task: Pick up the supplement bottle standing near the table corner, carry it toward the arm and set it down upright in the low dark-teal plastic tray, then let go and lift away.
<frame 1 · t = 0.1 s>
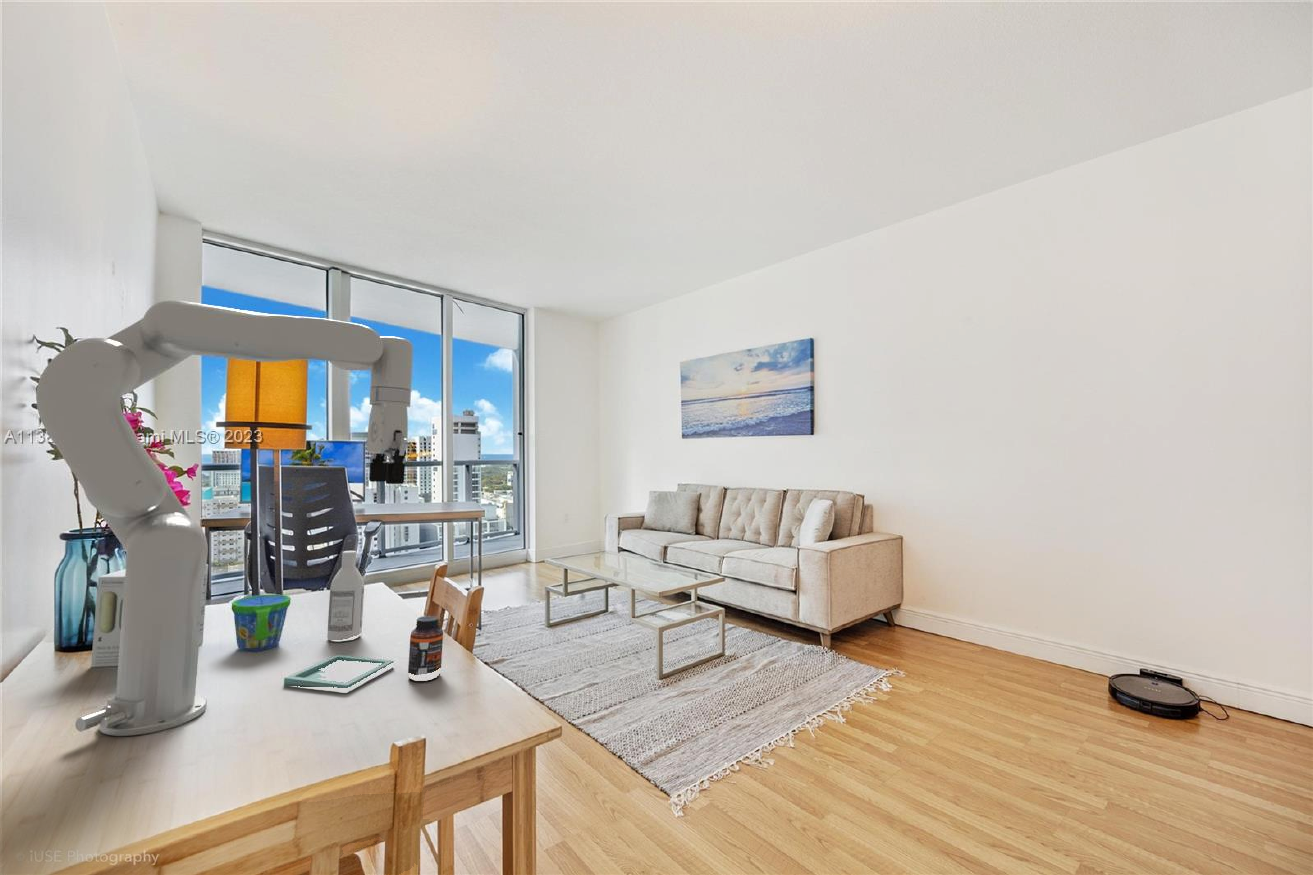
hand: (386, 482, 113), 37 cm above the table, tool pointing down, fingers open, 9 cm apart
bath foam: (344, 639, 130), on the table
supplement box: (150, 656, 115), on the table
tray: (341, 676, 107), on the table
snack cup: (258, 647, 122), on the table
supplement bottle: (424, 678, 108), on the table
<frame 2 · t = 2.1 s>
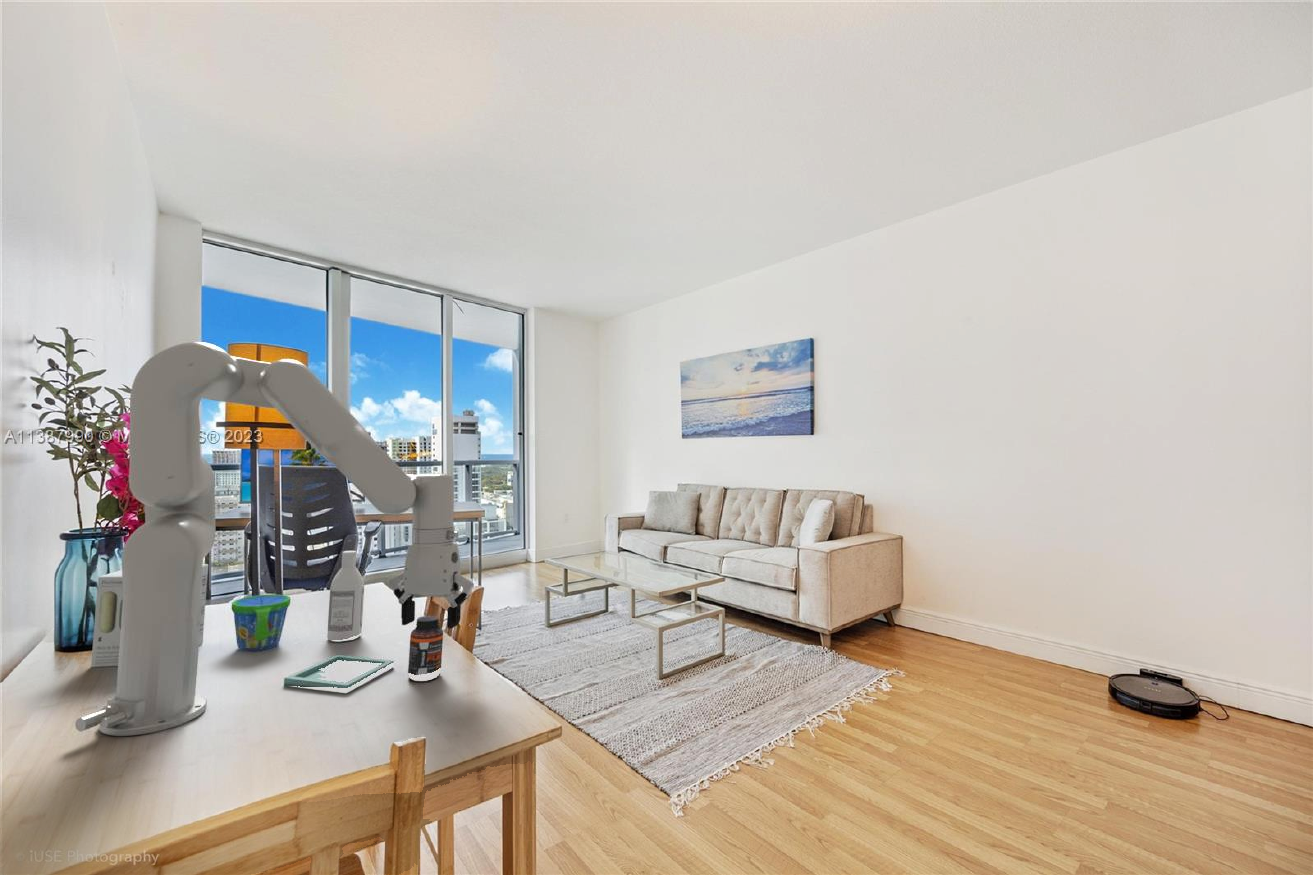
hand: (430, 624, 109), 10 cm above the table, tool pointing down, fingers open, 9 cm apart
nothing on the table moved.
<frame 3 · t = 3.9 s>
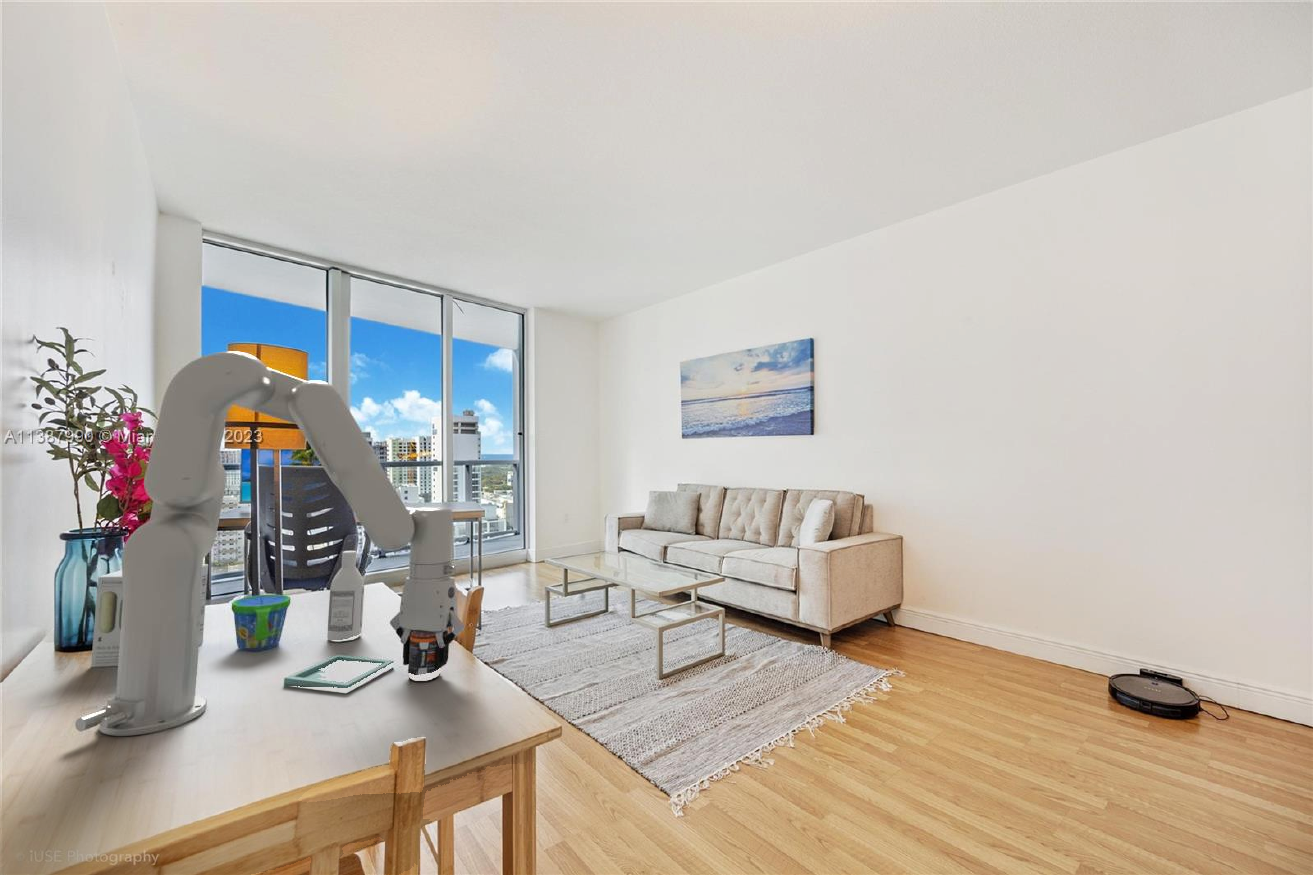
hand: (425, 663, 108), 3 cm above the table, tool pointing down, fingers closed on supplement bottle, 6 cm apart
supplement bottle: (424, 678, 108), on the table, touching gripper
everything else where it was.
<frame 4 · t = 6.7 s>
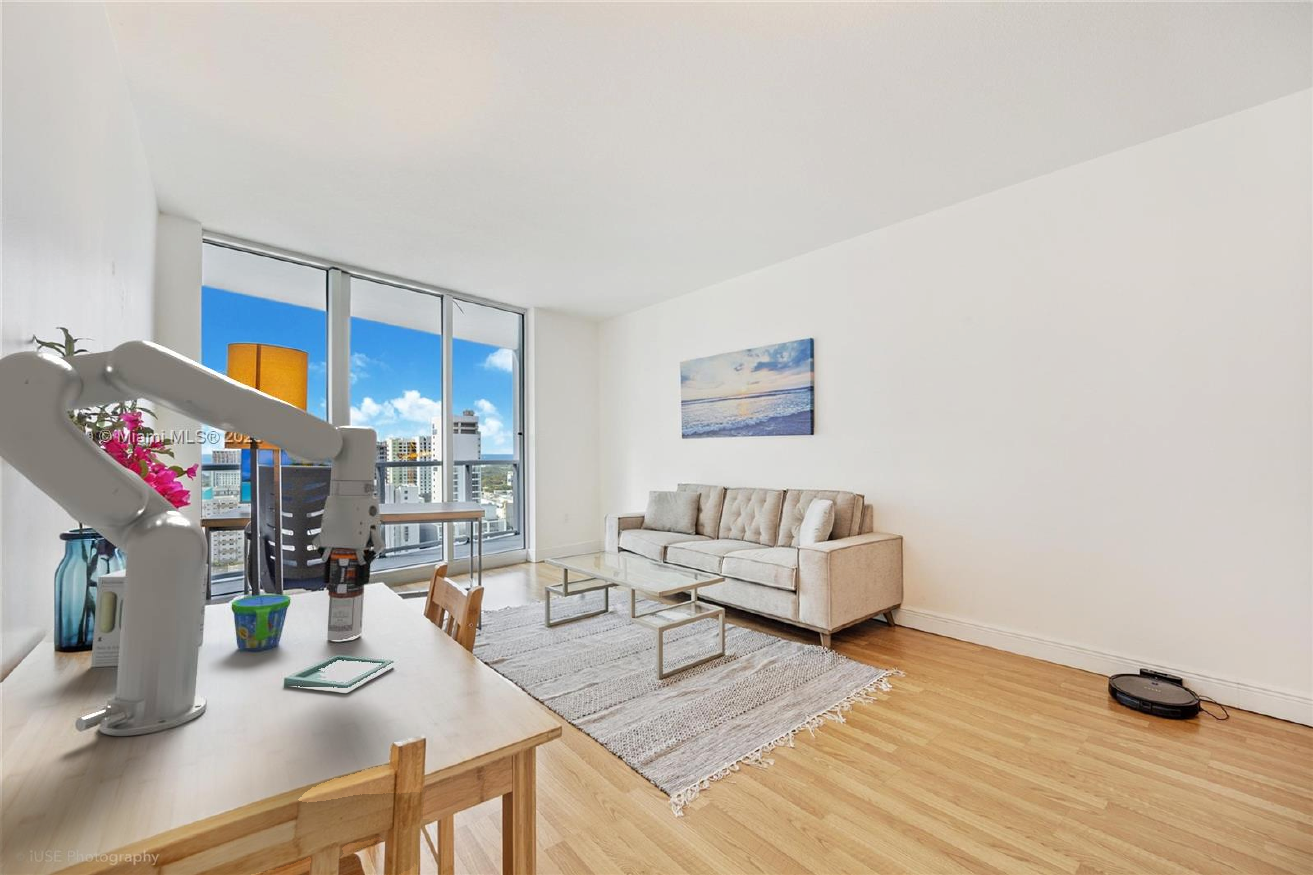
hand: (346, 582, 108), 18 cm above the table, tool pointing down, fingers closed on supplement bottle, 6 cm apart
supplement bottle: (345, 596, 108), point 15 cm above the table, touching gripper
everything else where it was.
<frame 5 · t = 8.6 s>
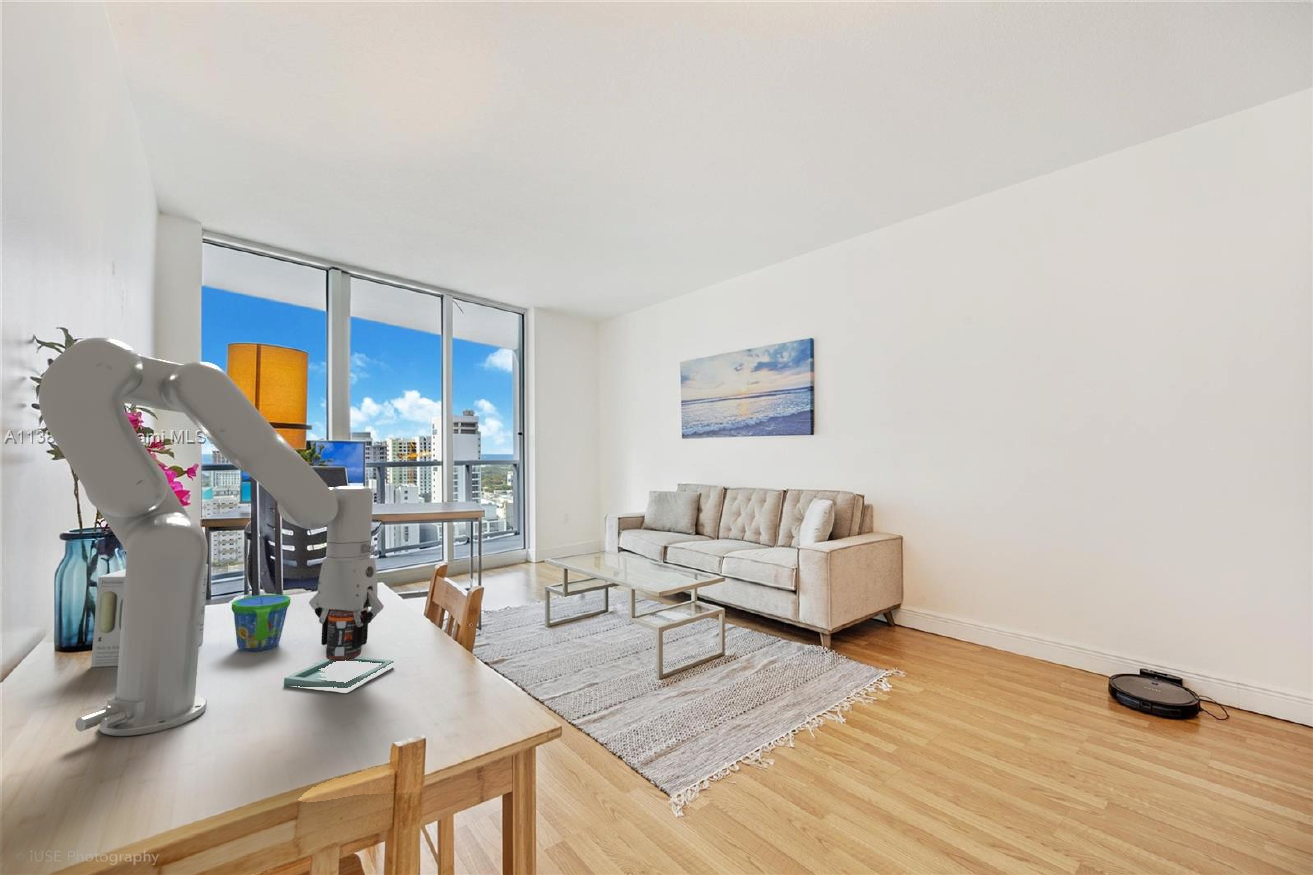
hand: (344, 643, 107), 6 cm above the table, tool pointing down, fingers closed on supplement bottle, 6 cm apart
supplement bottle: (343, 658, 107), point 4 cm above the table, touching gripper
everything else where it was.
when the fingers open (4 cm above the table, at t = 9.9 s): supplement bottle drops 1 cm, resting on tray.
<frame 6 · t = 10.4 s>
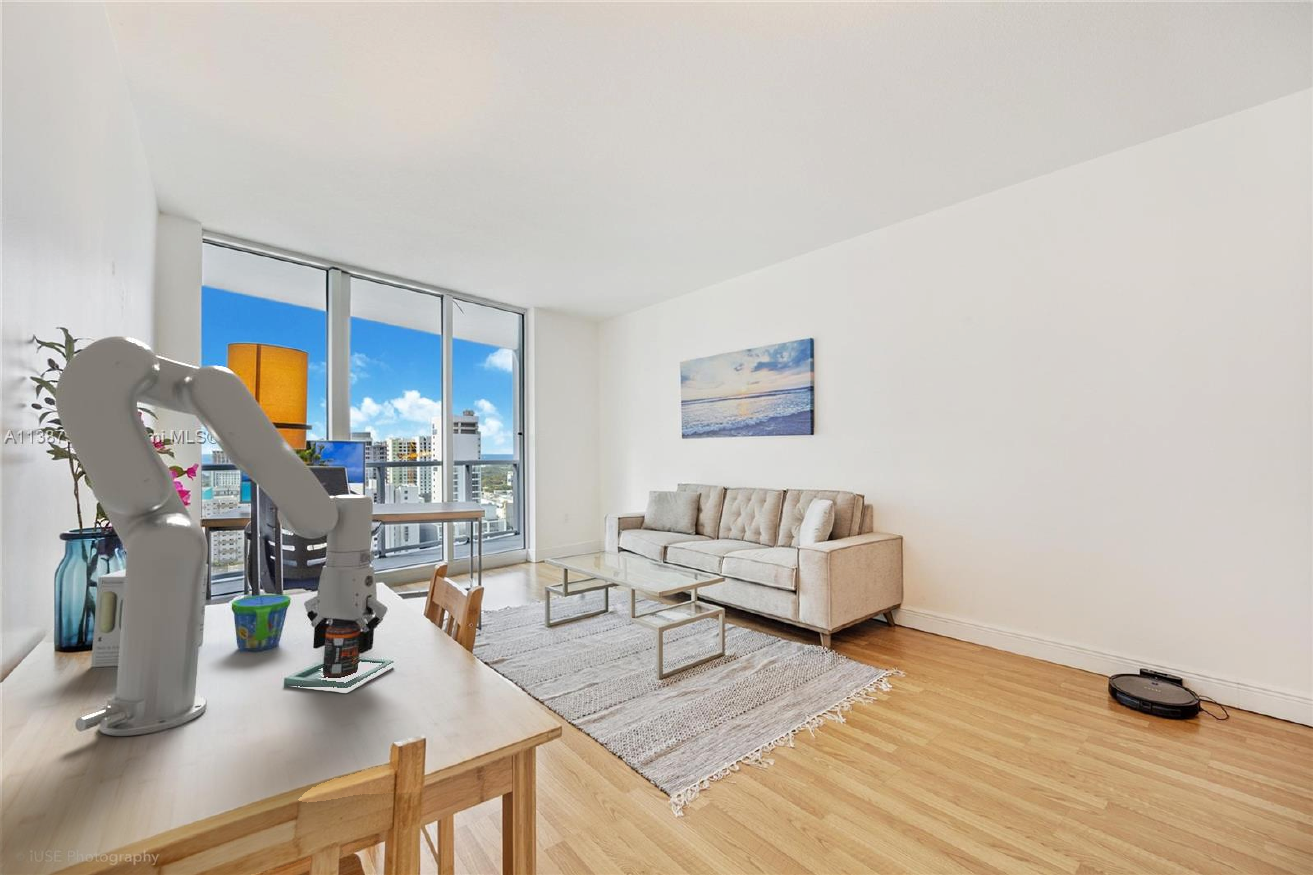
hand: (342, 648, 107), 5 cm above the table, tool pointing down, fingers open, 9 cm apart
supplement bottle: (340, 674, 107), resting on tray
everything else where it was.
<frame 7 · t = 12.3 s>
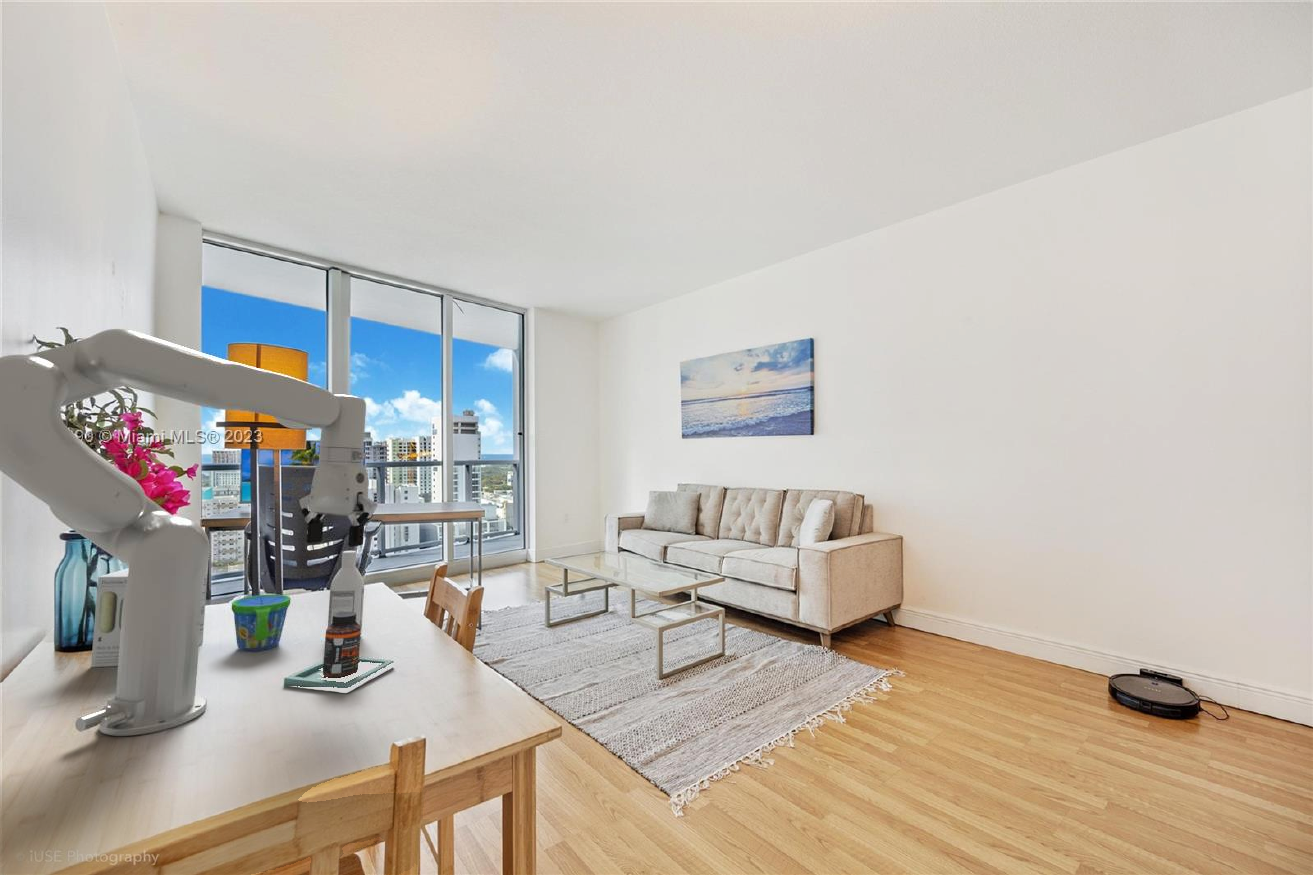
hand: (334, 544, 110), 25 cm above the table, tool pointing down, fingers open, 9 cm apart
nothing on the table moved.
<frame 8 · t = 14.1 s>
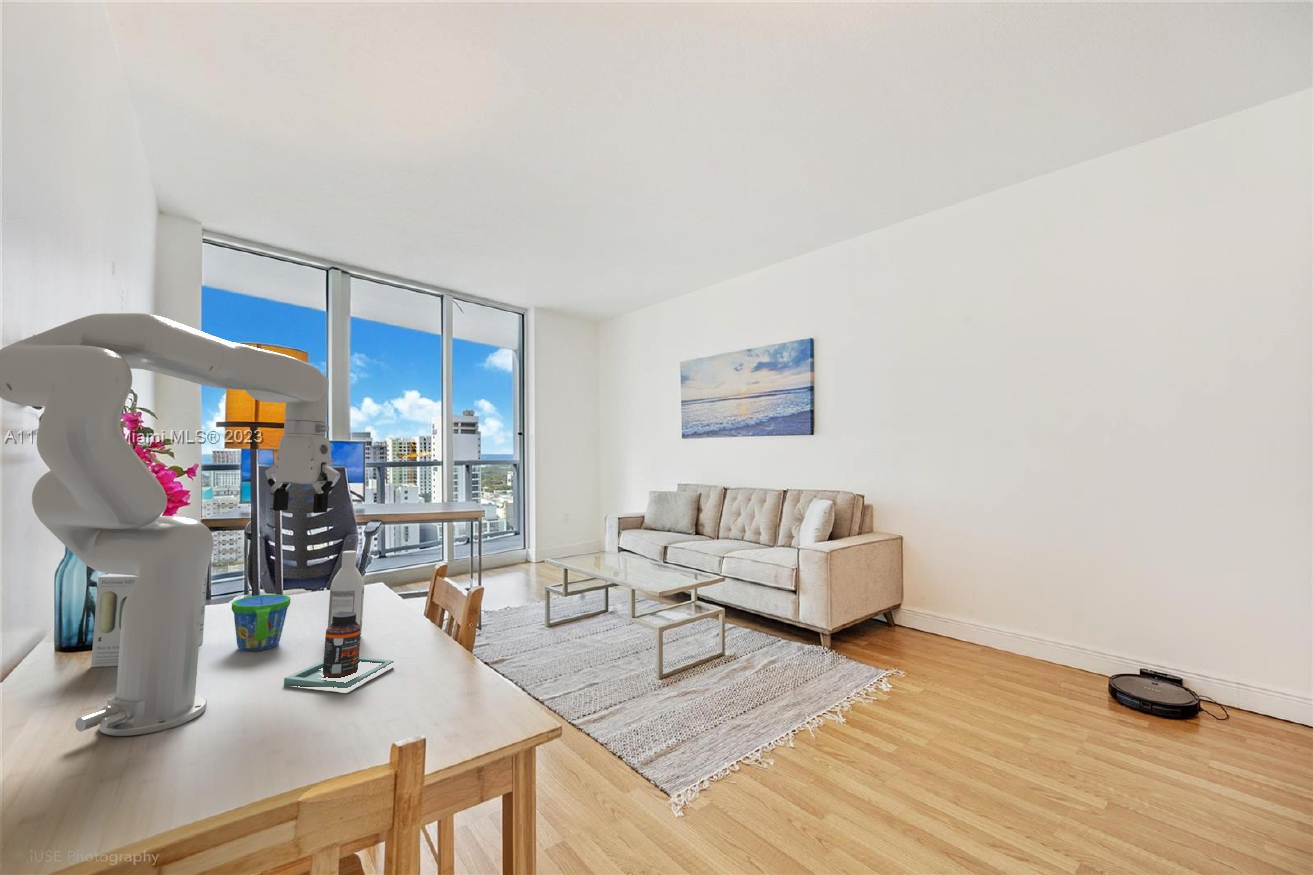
hand: (300, 511, 118), 30 cm above the table, tool pointing down, fingers open, 9 cm apart
nothing on the table moved.
at the end: supplement bottle inside the target area on the tray (0.1 cm from its centre), point 0.4 cm above the tray's base; supplement bottle tilted 0°; the gripper is holding nothing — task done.
